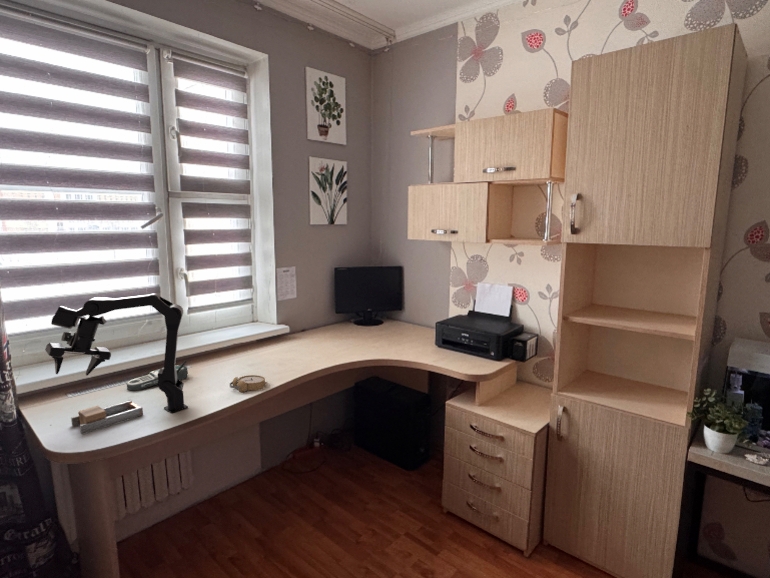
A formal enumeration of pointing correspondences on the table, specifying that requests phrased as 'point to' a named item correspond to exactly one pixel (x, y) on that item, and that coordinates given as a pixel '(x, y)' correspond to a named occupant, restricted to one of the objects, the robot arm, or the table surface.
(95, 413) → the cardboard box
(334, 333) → the table surface
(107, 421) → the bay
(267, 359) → the table surface
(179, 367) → the communication device
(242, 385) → the alarm clock
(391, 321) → the table surface
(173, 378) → the robot arm
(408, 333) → the table surface
